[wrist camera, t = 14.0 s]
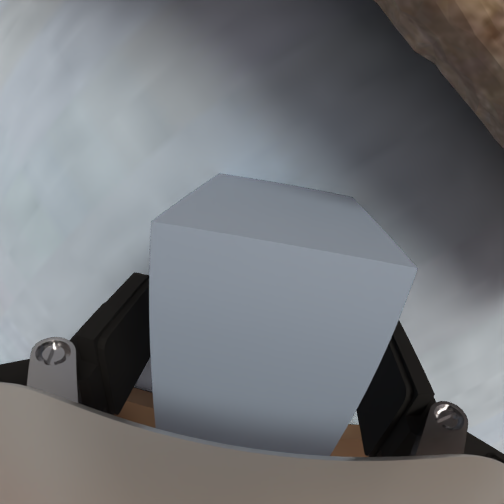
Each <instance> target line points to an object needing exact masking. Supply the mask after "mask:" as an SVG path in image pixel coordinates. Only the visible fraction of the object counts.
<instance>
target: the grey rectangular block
mask: <svg viewBox="0 0 504 504" xmlns="http://www.w3.org/2000/svg"><path fill="white" fill-rule="evenodd" d="M417 269H418V268H417V267H416V266H415V264H414V263H413V262H412V261H411V260H410V259H409V258H408V256H407V255H406V254H405V253H404V252H403V251H402V250H401V248H400V247H399V246H398V245H397V244H396V243H395V242H394V241H393V240H392V238H391V237H390V236H389V235H388V234H387V233H386V232H385V231H384V230H383V229H382V228H381V227H380V225H379V224H378V223H377V222H376V221H375V220H374V219H373V218H372V217H371V216H370V215H369V214H368V213H367V212H366V211H365V210H364V209H363V208H362V207H361V206H360V205H359V204H358V203H357V201H356V200H355V199H354V198H353V197H349V196H344V195H339V194H334V193H329V192H324V191H319V190H314V189H309V188H304V187H298V186H293V185H287V184H282V183H276V182H270V181H264V180H258V179H252V178H246V177H239V176H233V175H226V174H218V175H216V176H215V177H213V178H212V179H210V180H209V181H207V182H206V183H204V184H203V185H201V186H200V187H198V188H197V189H196V190H194V191H193V192H191V193H190V194H188V195H187V196H185V197H184V198H183V199H181V200H180V201H178V202H177V203H176V204H174V205H173V206H171V207H170V208H169V209H167V210H166V211H164V212H163V213H162V214H160V215H159V216H158V217H156V218H155V219H153V220H152V221H151V235H150V268H149V323H150V355H151V375H152V391H153V404H154V416H155V426H156V428H157V429H161V430H164V431H168V432H172V433H176V434H180V435H185V436H189V437H193V438H198V439H203V440H207V441H212V442H218V443H223V444H228V445H234V446H240V447H246V448H253V449H260V450H267V451H275V452H284V453H294V454H306V455H320V456H330V455H331V453H332V451H333V450H334V448H335V446H336V445H337V443H338V441H339V440H340V438H341V436H342V435H343V433H344V431H345V429H346V428H347V426H348V424H349V422H350V421H351V419H352V417H353V415H354V413H355V412H356V410H357V408H358V406H359V404H360V402H361V400H362V398H363V396H364V394H365V393H366V391H367V389H368V387H369V385H370V383H371V381H372V379H373V376H374V374H375V372H376V370H377V368H378V366H379V364H380V362H381V360H382V357H383V355H384V353H385V351H386V349H387V346H388V344H389V342H390V339H391V337H392V335H393V332H394V330H395V328H396V325H397V323H398V320H399V318H400V315H401V313H402V310H403V308H404V305H405V303H406V300H407V297H408V295H409V292H410V289H411V286H412V284H413V281H414V278H415V275H416V272H417Z"/></svg>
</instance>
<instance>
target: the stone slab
mask: <svg viewBox="0 0 504 504" xmlns="http://www.w3.org/2000/svg"><path fill="white" fill-rule="evenodd" d="M373 1H375V2H376V3H377V4H378V5H379V6H380V7H381V9H382V10H383V11H384V13H385V14H386V15H387V17H388V18H389V19H390V21H391V22H392V24H393V25H394V26H395V28H396V29H397V30H398V31H399V32H400V34H401V35H402V36H403V37H404V39H405V40H406V41H407V42H408V44H409V45H410V46H411V47H412V49H413V50H414V51H415V52H417V53H418V54H420V55H422V56H423V57H425V58H426V59H428V60H429V61H431V62H433V63H434V64H435V65H436V66H437V67H438V69H439V70H440V72H441V73H442V75H443V76H444V77H445V78H446V79H447V80H448V82H449V83H450V84H451V85H452V86H453V87H454V89H455V90H456V91H457V92H458V93H459V95H460V96H461V97H462V98H463V100H464V101H465V102H466V103H467V104H468V105H469V107H470V108H471V109H472V110H473V111H474V113H475V114H476V115H477V116H478V118H479V119H480V120H481V121H482V123H483V124H484V125H485V127H486V128H487V129H488V131H489V132H490V133H491V135H492V136H493V138H494V139H495V140H496V141H497V142H498V143H499V144H500V145H501V147H502V148H503V149H504V0H373Z"/></svg>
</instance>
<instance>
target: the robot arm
mask: <svg viewBox="0 0 504 504" xmlns="http://www.w3.org/2000/svg"><path fill="white" fill-rule="evenodd" d="M150 356H151V355H150V323H149V275H144V274H140V273H133V274H132V275H131V276H130V277H129V278H128V279H127V280H126V282H125V283H124V284H123V285H122V286H121V287H120V288H119V289H118V290H117V291H116V292H115V293H114V294H113V295H112V296H111V297H110V298H109V300H108V301H107V302H105V303H104V304H102V305H101V306H100V308H99V309H98V310H97V311H96V312H95V313H94V314H93V315H92V316H91V317H90V318H89V319H88V321H87V322H86V323H85V324H84V325H83V326H82V327H81V328H80V329H79V331H78V332H77V333H76V334H75V335H74V336H73V337H72V338H71V340H70V341H69V340H67V339H65V338H61V337H50V338H46V339H43V340H41V341H39V342H38V343H36V344H35V346H34V347H33V348H32V351H31V355H30V359H27V360H22V361H16V362H11V363H6V364H1V365H0V504H504V454H503V453H501V452H500V451H498V450H496V449H495V448H493V447H491V446H490V445H488V444H486V443H485V442H483V441H481V440H480V439H478V438H476V437H475V436H473V435H472V434H470V433H468V432H467V429H468V419H467V416H466V414H465V413H464V411H463V410H462V409H461V408H459V407H458V406H457V405H455V404H453V403H450V402H447V401H439V402H436V401H435V399H434V395H435V394H434V392H433V389H432V387H431V385H430V383H429V381H428V378H427V376H426V374H425V372H424V370H423V368H422V366H421V363H420V361H419V359H418V357H417V355H416V353H415V351H414V349H413V347H412V345H411V343H410V341H409V339H408V337H407V335H406V333H405V331H404V329H403V327H402V325H401V323H400V321H399V320H398V323H397V325H396V328H395V330H394V332H393V335H392V337H391V339H390V342H389V344H388V346H387V349H386V351H385V353H384V355H383V357H382V360H381V362H380V364H379V366H378V368H377V370H376V372H375V374H374V376H373V379H372V381H371V383H370V385H369V387H368V389H367V391H366V393H365V394H364V396H363V398H362V400H361V402H360V404H359V406H358V408H357V415H358V421H359V426H360V432H361V437H362V443H363V449H364V454H365V455H366V456H369V457H339V456H320V455H306V454H294V453H284V452H275V451H267V450H260V449H253V448H246V447H240V446H234V445H228V444H223V443H218V442H212V441H207V440H203V439H198V438H193V437H189V436H185V435H180V434H176V433H172V432H168V431H164V430H161V429H157V428H153V427H150V426H146V425H143V424H139V423H136V422H133V421H130V420H126V419H123V418H120V417H117V416H114V414H116V415H118V414H119V413H120V412H121V410H122V408H123V406H124V404H125V402H126V401H127V399H128V397H129V395H130V393H131V391H132V389H133V387H134V386H135V384H136V382H137V380H138V378H139V376H140V374H141V373H142V371H143V369H144V367H145V365H146V363H147V362H148V360H149V358H150Z"/></svg>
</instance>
